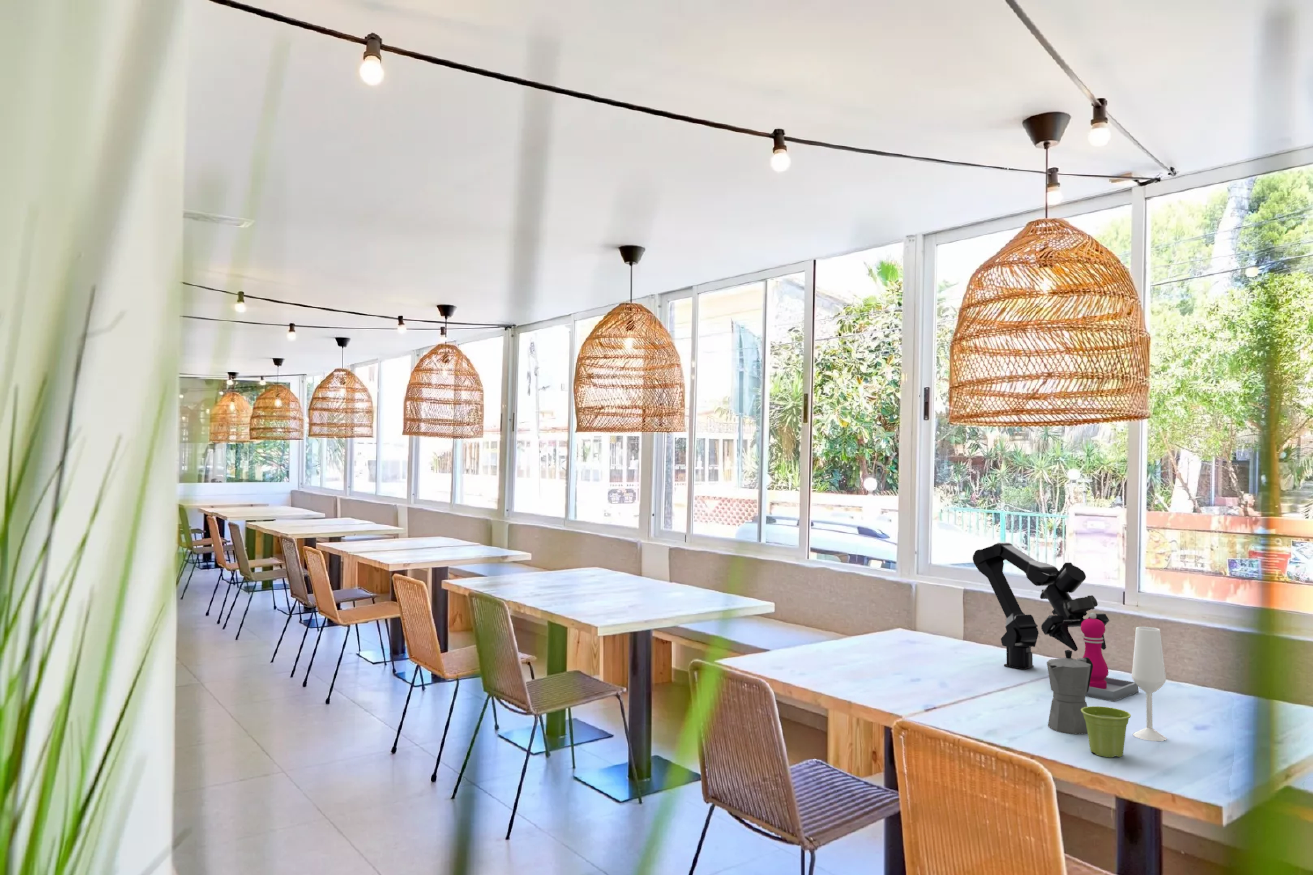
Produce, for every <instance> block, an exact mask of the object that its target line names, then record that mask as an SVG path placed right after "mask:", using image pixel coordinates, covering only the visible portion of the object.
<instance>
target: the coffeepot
mask: <svg viewBox="0 0 1313 875" xmlns="http://www.w3.org/2000/svg"><path fill="white" fill-rule="evenodd" d="M1064 654H1065V657H1060V658H1059V657H1058V658H1051V659H1049V660H1047V661H1046V667H1047V673H1048V678H1049V684H1050V691H1051V692H1053V698H1052V699H1051V704H1050V710H1049V717H1048V722H1047V727H1048V728H1050V730H1053V731H1055V732H1059V733H1062V734H1067V735H1068V734H1069V735H1088V732H1087V727H1086V721H1085V719H1084V716H1083V713H1082V712H1081V709H1082V708H1084V707H1088V704H1087V702H1086V696H1085V694H1086V693H1087V692H1088V690H1089V685H1090V680H1091V674H1092V670H1093V663H1092V662H1091V660H1090V659H1089V658H1088V657H1084V658H1083V657H1078V658H1072V656H1073V651H1072V650H1070V649H1065V650H1064Z"/></svg>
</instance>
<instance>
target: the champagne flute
mask: <svg viewBox="0 0 1313 875" xmlns="http://www.w3.org/2000/svg"><path fill="white" fill-rule="evenodd" d="M1134 634H1135V635H1134V646H1133V647H1134V648H1133V657H1132V669H1131V678H1132V680H1133V682H1135V683H1136V684H1137V685H1138V688H1139V689H1140V690H1142V691H1143V692H1144V693H1145V710H1146V711H1145V713H1146V714H1145V715H1146V720H1145V722H1146V727H1144V728H1142V729H1140V730H1137V731H1136V732H1134V733H1132V736H1133V737H1135V738H1138V739H1141V740H1144V741H1150V742H1164V740H1165V741H1167V739H1168V738H1167V737H1166V736H1164V735H1163V734H1162V733H1160V732H1159V731H1158V730H1155V729H1154V728H1153V693H1155V692H1157V691H1158V690H1159V689H1161V688H1162V687H1163V686H1164V685H1165V683H1166V681H1167V676H1166V668H1165V660H1164V658H1165V657H1164V651H1163V642H1162V635H1161V628H1157V627H1153V626H1151V627H1150V626H1137V627H1135V633H1134Z"/></svg>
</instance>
